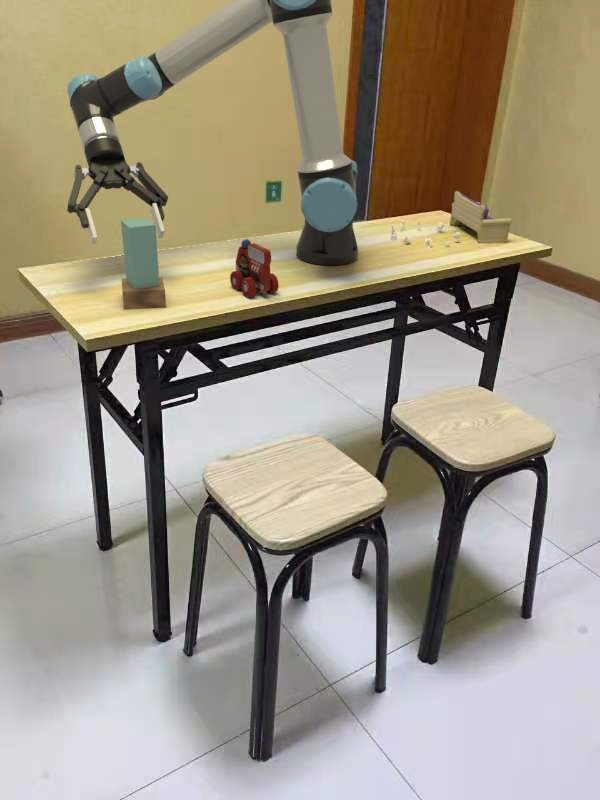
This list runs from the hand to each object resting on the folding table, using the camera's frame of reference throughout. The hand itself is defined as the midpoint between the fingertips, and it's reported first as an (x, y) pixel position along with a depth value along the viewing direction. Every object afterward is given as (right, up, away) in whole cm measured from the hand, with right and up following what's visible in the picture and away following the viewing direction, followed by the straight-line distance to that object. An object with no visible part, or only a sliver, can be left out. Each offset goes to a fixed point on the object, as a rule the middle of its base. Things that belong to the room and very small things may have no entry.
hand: (129, 237), depth 137 cm
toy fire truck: (+24, -10, +8) cm, 27 cm away
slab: (+3, -13, 0) cm, 13 cm away
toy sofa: (+84, +14, +58) cm, 103 cm away
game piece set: (+68, +11, +51) cm, 86 cm away
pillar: (+3, -9, -2) cm, 10 cm away
